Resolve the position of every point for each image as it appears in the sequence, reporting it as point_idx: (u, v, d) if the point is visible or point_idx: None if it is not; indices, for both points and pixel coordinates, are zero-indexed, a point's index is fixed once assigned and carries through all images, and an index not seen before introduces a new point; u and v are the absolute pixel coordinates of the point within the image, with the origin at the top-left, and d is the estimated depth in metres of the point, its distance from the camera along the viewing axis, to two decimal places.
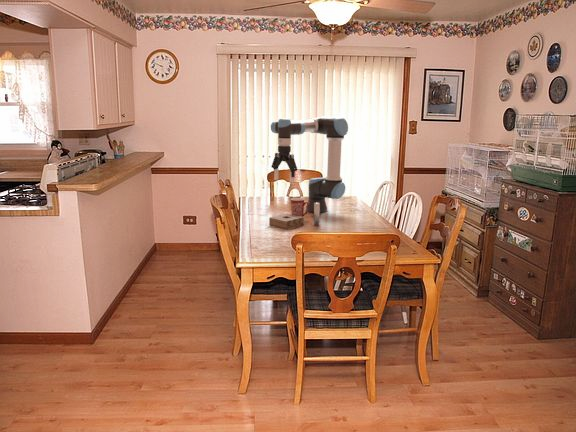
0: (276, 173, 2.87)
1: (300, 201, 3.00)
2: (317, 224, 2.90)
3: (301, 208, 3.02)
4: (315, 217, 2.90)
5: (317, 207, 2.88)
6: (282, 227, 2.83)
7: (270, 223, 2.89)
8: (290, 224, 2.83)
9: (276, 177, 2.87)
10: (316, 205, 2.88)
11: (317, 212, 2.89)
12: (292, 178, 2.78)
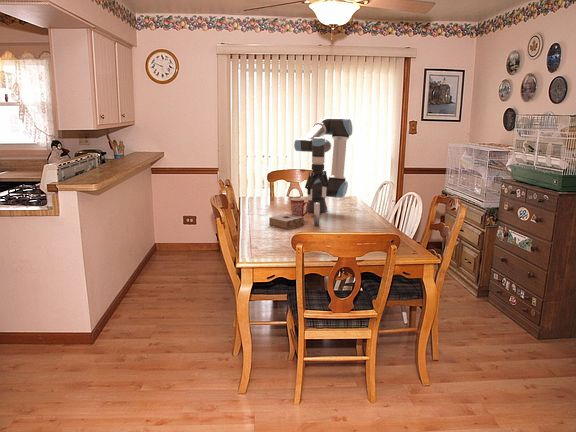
0: (322, 191, 2.92)
1: (300, 201, 3.00)
2: (317, 224, 2.90)
3: (301, 208, 3.02)
4: (315, 217, 2.90)
5: (317, 207, 2.88)
6: (282, 227, 2.83)
7: (270, 223, 2.89)
8: (290, 224, 2.83)
9: (323, 194, 2.93)
10: (316, 205, 2.88)
11: (317, 212, 2.89)
12: (309, 195, 2.82)
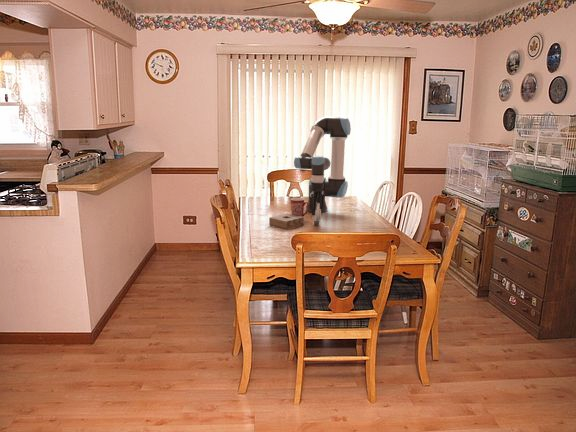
0: None
1: (300, 201, 3.00)
2: (317, 224, 2.90)
3: (301, 208, 3.02)
4: None
5: (317, 207, 2.88)
6: (282, 227, 2.83)
7: (270, 223, 2.89)
8: (290, 224, 2.83)
9: None
10: (316, 205, 2.88)
11: (317, 212, 2.89)
12: (314, 216, 2.89)
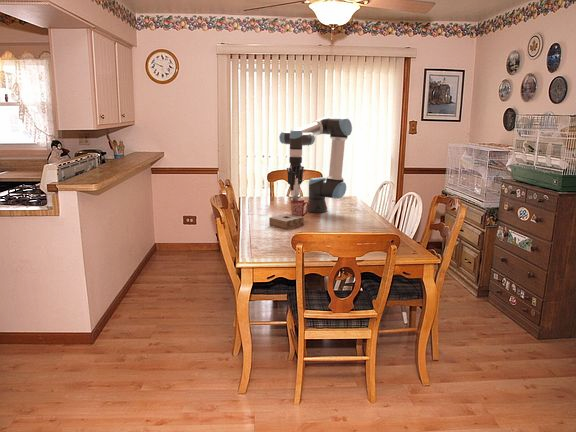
0: None
1: (300, 201, 3.00)
2: (296, 199, 2.86)
3: (301, 208, 3.02)
4: None
5: (295, 182, 2.84)
6: (282, 227, 2.83)
7: (270, 223, 2.89)
8: (290, 224, 2.83)
9: None
10: None
11: (295, 187, 2.84)
12: (292, 191, 2.85)
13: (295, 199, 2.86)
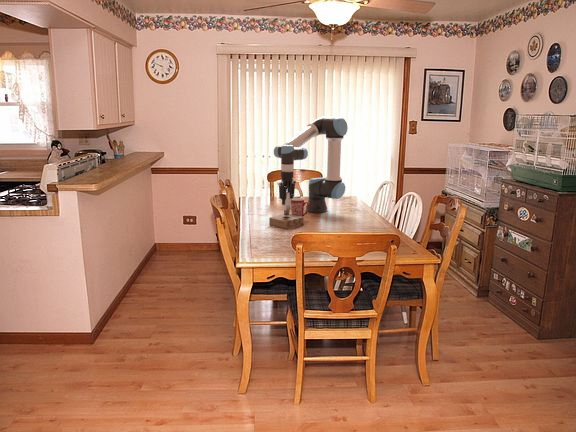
0: None
1: (300, 201, 3.00)
2: (287, 214, 2.88)
3: (301, 208, 3.02)
4: None
5: (287, 196, 2.86)
6: (282, 227, 2.83)
7: (270, 223, 2.89)
8: (290, 224, 2.83)
9: None
10: (286, 194, 2.85)
11: (287, 202, 2.86)
12: (284, 205, 2.87)
13: (287, 213, 2.88)
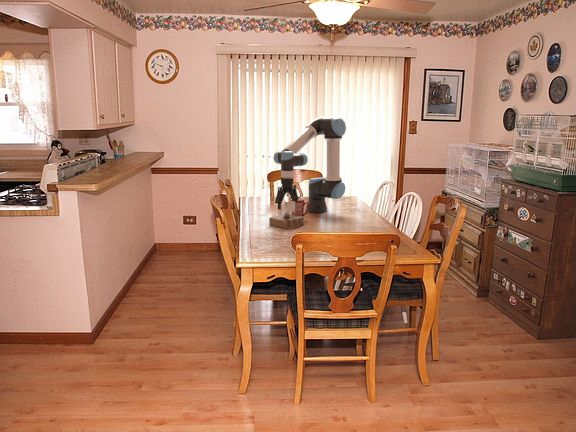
0: (292, 205, 2.93)
1: (300, 201, 3.00)
2: None
3: (301, 208, 3.02)
4: (285, 215, 2.88)
5: (287, 205, 2.87)
6: (282, 227, 2.83)
7: (270, 223, 2.89)
8: (290, 224, 2.83)
9: (292, 209, 2.93)
10: (286, 203, 2.87)
11: (287, 210, 2.88)
12: (279, 210, 2.85)
13: None
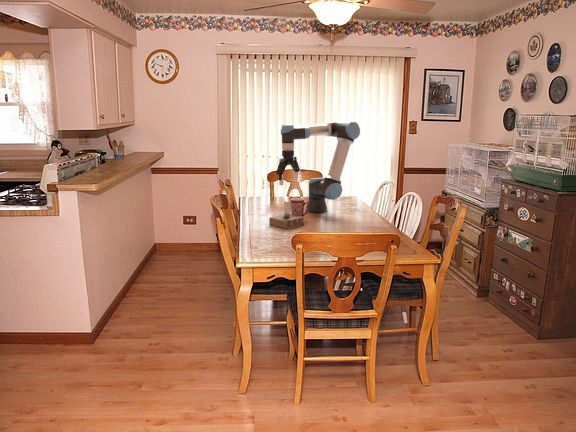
0: (294, 176, 3.03)
1: (300, 201, 3.00)
2: None
3: (301, 208, 3.02)
4: (285, 215, 2.89)
5: (287, 205, 2.87)
6: (282, 227, 2.83)
7: (270, 223, 2.89)
8: (290, 224, 2.83)
9: (294, 179, 3.03)
10: (286, 203, 2.87)
11: (287, 210, 2.88)
12: (281, 181, 2.93)
13: None
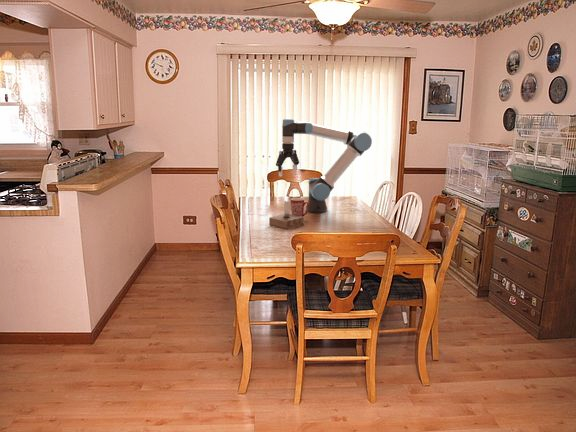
0: (293, 168, 3.17)
1: (300, 201, 3.00)
2: None
3: (301, 208, 3.02)
4: (285, 215, 2.89)
5: (287, 205, 2.87)
6: (282, 227, 2.83)
7: (270, 223, 2.89)
8: (290, 224, 2.83)
9: (293, 172, 3.17)
10: (286, 203, 2.87)
11: (287, 210, 2.88)
12: (280, 172, 3.07)
13: None
